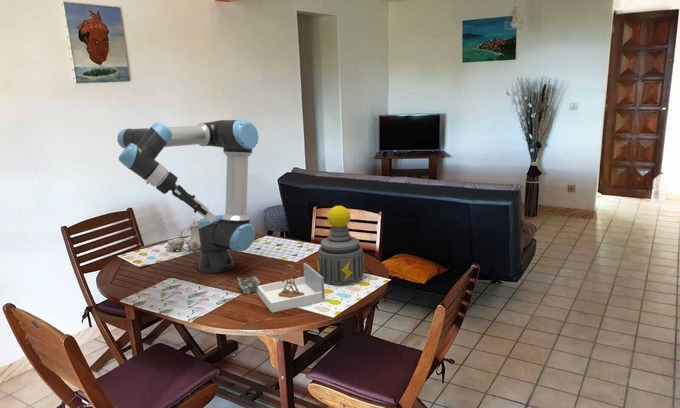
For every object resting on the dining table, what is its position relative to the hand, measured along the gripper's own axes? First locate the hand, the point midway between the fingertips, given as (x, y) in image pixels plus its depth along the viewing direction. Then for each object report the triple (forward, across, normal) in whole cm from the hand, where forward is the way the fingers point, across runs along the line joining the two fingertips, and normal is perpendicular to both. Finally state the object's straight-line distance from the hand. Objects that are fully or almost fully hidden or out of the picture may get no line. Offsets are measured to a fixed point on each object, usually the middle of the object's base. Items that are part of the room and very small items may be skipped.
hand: (209, 215), depth 183 cm
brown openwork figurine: (+39, +16, -5) cm, 42 cm away
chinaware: (+24, -66, -21) cm, 73 cm away
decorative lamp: (+57, +7, +12) cm, 59 cm away
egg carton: (+32, -1, -14) cm, 35 cm away
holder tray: (+39, +16, -6) cm, 43 cm away
